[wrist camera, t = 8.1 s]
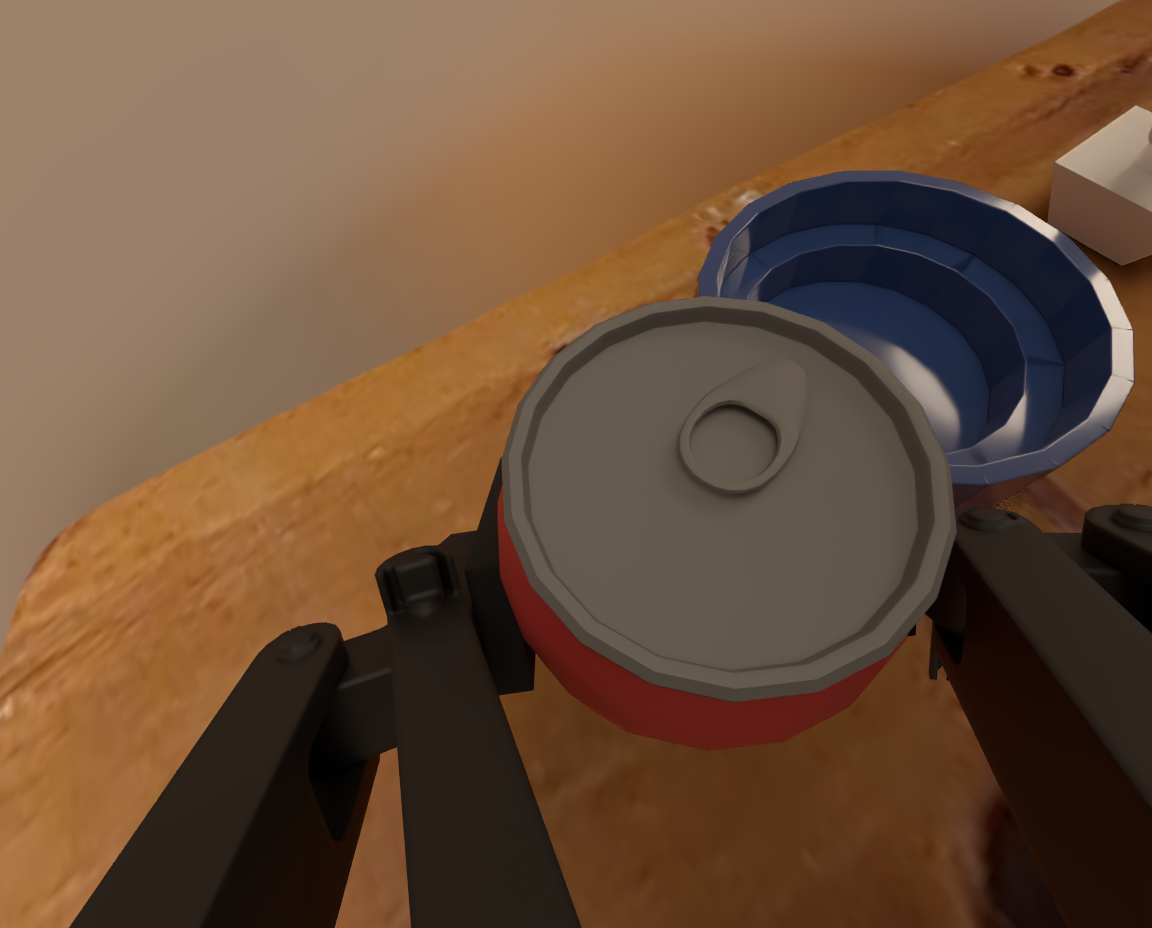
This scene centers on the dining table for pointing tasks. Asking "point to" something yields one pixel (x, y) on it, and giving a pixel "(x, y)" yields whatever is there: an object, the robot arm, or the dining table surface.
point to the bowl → (946, 312)
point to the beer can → (720, 520)
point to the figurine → (1108, 189)
